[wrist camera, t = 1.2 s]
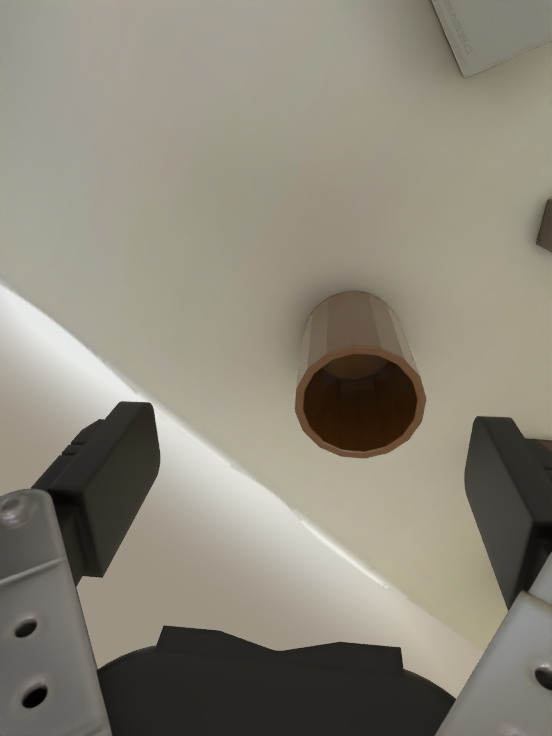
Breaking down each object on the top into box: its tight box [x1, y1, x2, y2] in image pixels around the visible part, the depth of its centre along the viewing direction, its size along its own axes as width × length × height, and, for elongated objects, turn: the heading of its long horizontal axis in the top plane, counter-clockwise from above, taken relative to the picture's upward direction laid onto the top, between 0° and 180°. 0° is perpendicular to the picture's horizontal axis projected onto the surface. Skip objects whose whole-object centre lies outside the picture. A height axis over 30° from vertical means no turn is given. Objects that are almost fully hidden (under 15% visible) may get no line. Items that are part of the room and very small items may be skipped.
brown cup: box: [295, 292, 426, 458], centre depth 27 cm, size 6×6×8 cm
